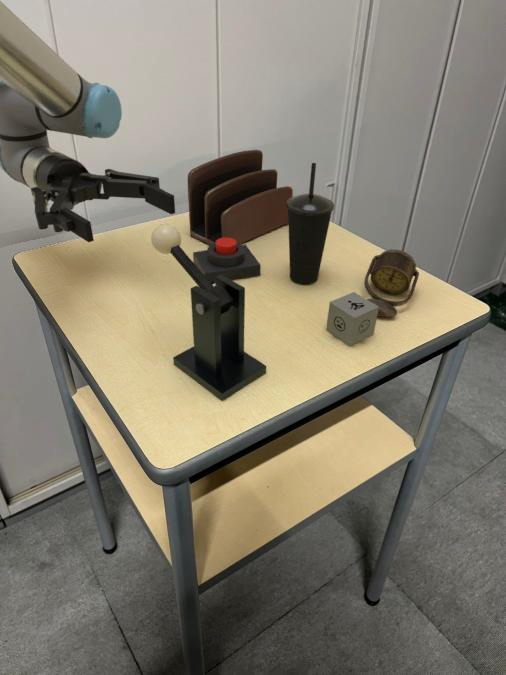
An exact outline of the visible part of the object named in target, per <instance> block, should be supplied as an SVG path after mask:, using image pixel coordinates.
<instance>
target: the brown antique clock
mask: <svg viewBox="0 0 506 675" xmlns="http://www.w3.org/2000/svg"><path fill="white" fill-rule="evenodd" d="M416 264H417V263H416V261H415V260H414V258H413V256H411V254H409V253H408V252H406V251H405V250H404V251H403V250H400V249H387V250H384V251H383V252H381V253H380V254H377V255H374V256H373V258H372V259H371V262H370V264H369V266H368V269H367V271H366V274H365V277H364V283H363V284H364V287H365V288H364V289H365V290H366V292H367V293H368V295H369V296H370V298H366V299H367V300H368V301H370V302H372V303H374V304H375V305H377V306H379V309H378V314H377V317H382V318H394V317H396V316H398V310H397V308H398V307H402V306H403V305H406V304H407V303H409V301H411V299H412V297H413V295H414V292H415V289H416V285H417V283H418V280H419V276H420V272H419V271H418V270H417V265H416ZM413 277H414V278H413ZM369 278H370V281H371V284H372V285H373V287H374V288H375V289H376V290H377V291H379V292H381V293H383V294H386V295H389V296H399V295H402V294H404V293H406V292H407V291H408V290H409V288H410V290H409V294H408V296H407V298H405V299H403V300H399V301H395V300H393V301H392V300H388V299H385V298H383V297H381V296H380V295H378V294H376V293H375V292H374V291H373V289H372V288H371V285H370V283H369ZM410 286H411V287H410Z"/></svg>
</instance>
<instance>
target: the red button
mask: <svg viewBox="0 0 506 675" xmlns="http://www.w3.org/2000/svg"><path fill="white" fill-rule="evenodd" d="M216 253H218V254H222V255H230V254H234V253H236V240H234V239H232V238H220V239H218V240H216Z"/></svg>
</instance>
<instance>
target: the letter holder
mask: <svg viewBox="0 0 506 675" xmlns="http://www.w3.org/2000/svg"><path fill="white" fill-rule="evenodd" d="M263 158H264V155H263V151H262V150H261V149H251V150H243V151H238V152H233V153H230V154H227V155H223V156H221V157H218V158H215V159H212V160H209V161H207V162H205V163H202V164H200V165H198V166H196V167H194V168H192V169H191V170H189V172H188V174H187V199H188V220H189V235H190V237H192V238H195V239H197V240H199V241H201V242H203V243H205V244H207V245H208V246H209V245H211V244H213V243H215V242H216V240H218V239H220V238H232V239H234V240H236V242H237V243H239V244H242V245H243V244H244V243H247V242H249V241H251V240H254V239H256V238H258V237H260V236H262V235H265V234H267V233H270V232H271V231H274V230H276V229H278V228H281V227H283V226H285V225H288V208H287V206H286V202H287V200H288V199H289V198H291V197H294V196H293V195H294V189H293V187H291V186H287V185H286V186H281V187H278V171H277V169H275V168H272V169H271V168H270V169H263V162H264V161H263Z"/></svg>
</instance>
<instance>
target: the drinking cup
mask: <svg viewBox="0 0 506 675" xmlns="http://www.w3.org/2000/svg"><path fill="white" fill-rule="evenodd" d="M316 168H317V163H316V162H311V167H310V176H309V177H310V179H309V190H308V193H302V194H298V195H294V196H293V197H291V198H289V199H288V200H287V202H286V206H287V208H288V224H287V225H288V253H289V257H288V258H289V279H290V280H291V281H292V282H293V283H294V284H298V285H302V286H309V285H313V284H316V282H317V281H318V278H319V275H320V269H321V265H322V260H323V256H324V250H325V246H326V241H327V236H328V231H329V227H330V221H331V217H332V212H333V211H334V210H335V203H334V202H333V201H332V199H329V198H328V197H325V196H322V195H320V194H316V193H314V192H315V190H314V189H315V181H316V180H315V179H316V172H317V171H316V170H317V169H316Z"/></svg>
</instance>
